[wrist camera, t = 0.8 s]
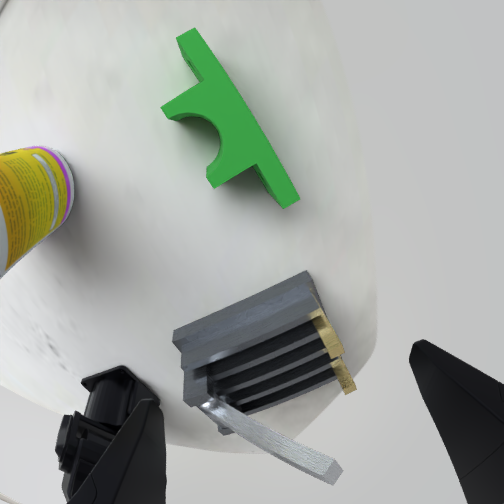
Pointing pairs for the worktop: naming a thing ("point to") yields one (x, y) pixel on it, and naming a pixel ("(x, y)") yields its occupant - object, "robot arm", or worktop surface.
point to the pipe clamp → (228, 123)
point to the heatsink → (262, 350)
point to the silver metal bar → (272, 441)
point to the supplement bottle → (31, 200)
